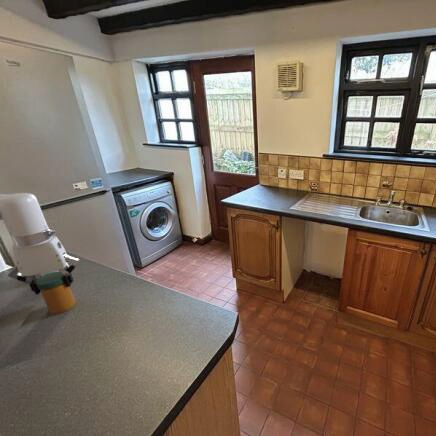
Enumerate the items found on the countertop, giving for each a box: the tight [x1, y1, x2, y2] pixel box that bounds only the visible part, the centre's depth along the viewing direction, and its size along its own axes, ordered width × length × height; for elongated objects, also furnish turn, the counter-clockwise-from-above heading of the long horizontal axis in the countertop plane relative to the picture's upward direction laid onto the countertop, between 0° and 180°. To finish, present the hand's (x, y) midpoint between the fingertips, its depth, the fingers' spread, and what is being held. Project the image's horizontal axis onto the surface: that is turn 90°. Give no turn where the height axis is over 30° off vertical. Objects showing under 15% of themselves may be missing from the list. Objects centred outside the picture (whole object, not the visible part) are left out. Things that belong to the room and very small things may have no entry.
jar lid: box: [36, 272, 65, 290], centre depth 74 cm, size 7×7×2 cm
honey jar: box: [39, 282, 77, 315], centre depth 76 cm, size 6×6×11 cm
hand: (54, 287), depth 75 cm, fingers closed on jar lid, 6 cm apart
